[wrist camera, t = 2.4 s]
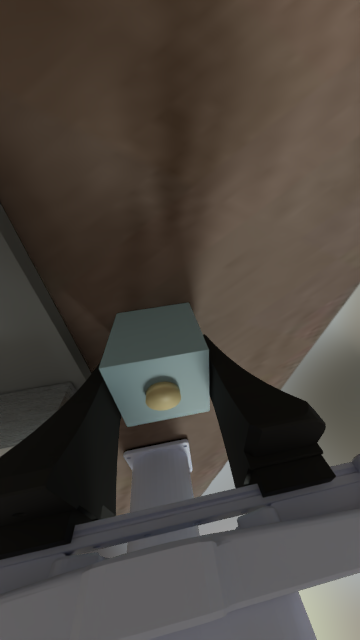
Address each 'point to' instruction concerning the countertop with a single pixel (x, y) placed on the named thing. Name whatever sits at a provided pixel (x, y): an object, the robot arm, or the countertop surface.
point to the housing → (157, 364)
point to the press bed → (31, 325)
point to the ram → (29, 411)
